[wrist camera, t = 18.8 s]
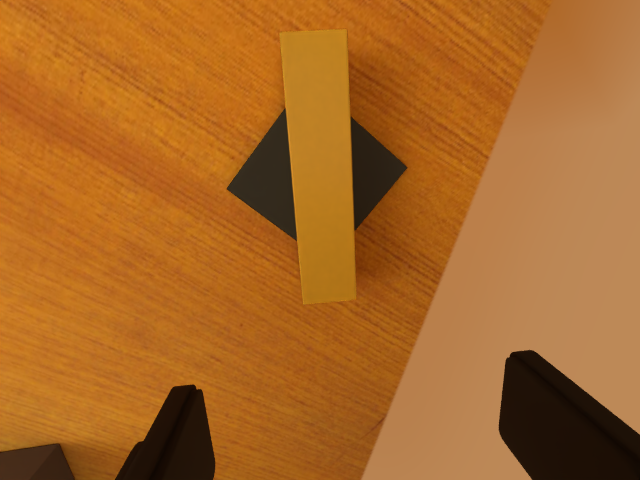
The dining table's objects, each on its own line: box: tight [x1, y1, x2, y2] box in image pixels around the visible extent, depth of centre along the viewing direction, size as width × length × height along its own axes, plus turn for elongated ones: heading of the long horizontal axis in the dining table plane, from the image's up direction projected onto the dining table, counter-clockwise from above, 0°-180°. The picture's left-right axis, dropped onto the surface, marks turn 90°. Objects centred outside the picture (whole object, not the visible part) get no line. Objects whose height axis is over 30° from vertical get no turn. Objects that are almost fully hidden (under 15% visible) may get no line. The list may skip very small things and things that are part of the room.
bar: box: [279, 29, 357, 305], centre depth 18 cm, size 14×3×3 cm, turn 4°
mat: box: [227, 108, 407, 241], centre depth 19 cm, size 8×8×1 cm
